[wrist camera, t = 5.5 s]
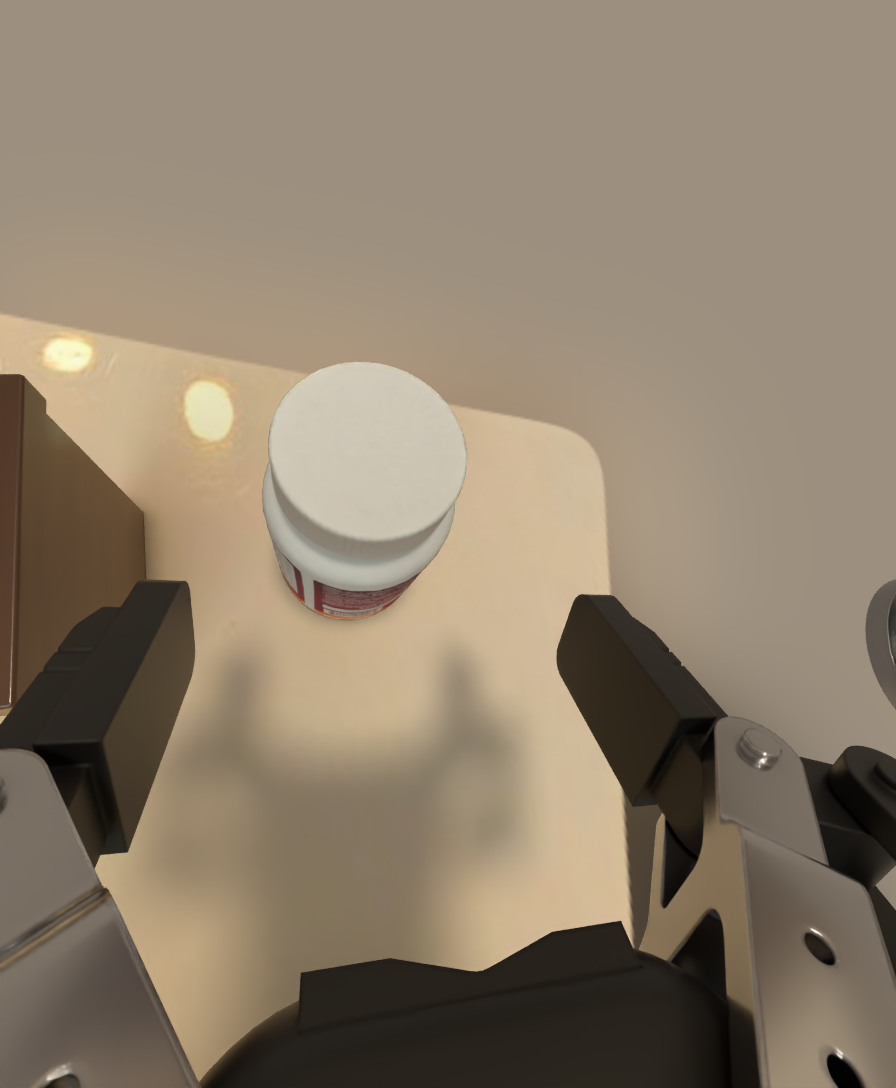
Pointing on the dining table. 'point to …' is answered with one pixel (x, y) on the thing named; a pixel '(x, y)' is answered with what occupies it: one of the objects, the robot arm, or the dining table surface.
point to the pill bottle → (360, 485)
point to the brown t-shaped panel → (54, 538)
